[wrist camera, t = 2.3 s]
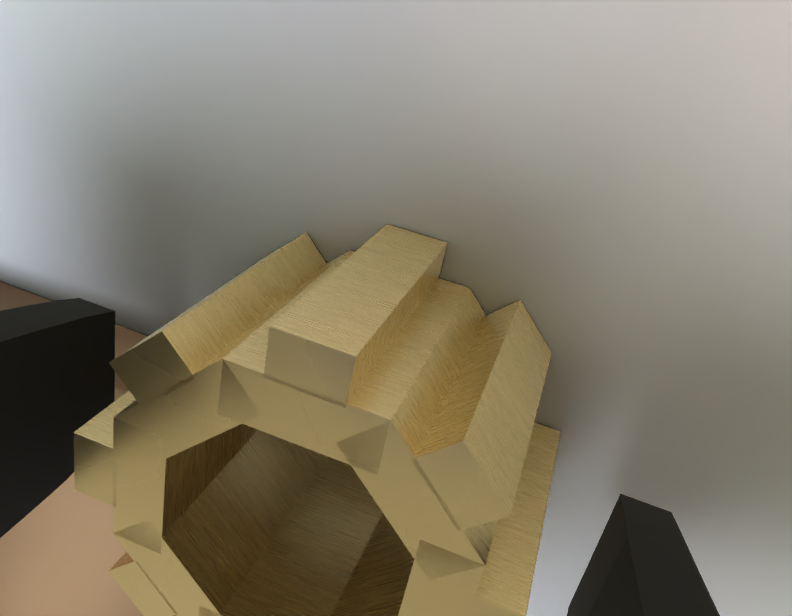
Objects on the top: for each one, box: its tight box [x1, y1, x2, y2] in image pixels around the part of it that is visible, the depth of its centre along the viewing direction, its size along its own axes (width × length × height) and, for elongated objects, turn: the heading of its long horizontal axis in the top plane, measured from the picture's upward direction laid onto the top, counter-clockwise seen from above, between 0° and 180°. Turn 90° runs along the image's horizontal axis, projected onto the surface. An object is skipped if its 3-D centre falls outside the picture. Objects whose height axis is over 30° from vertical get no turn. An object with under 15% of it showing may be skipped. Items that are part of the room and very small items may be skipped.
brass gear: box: [73, 224, 560, 616], centre depth 9 cm, size 6×6×4 cm
